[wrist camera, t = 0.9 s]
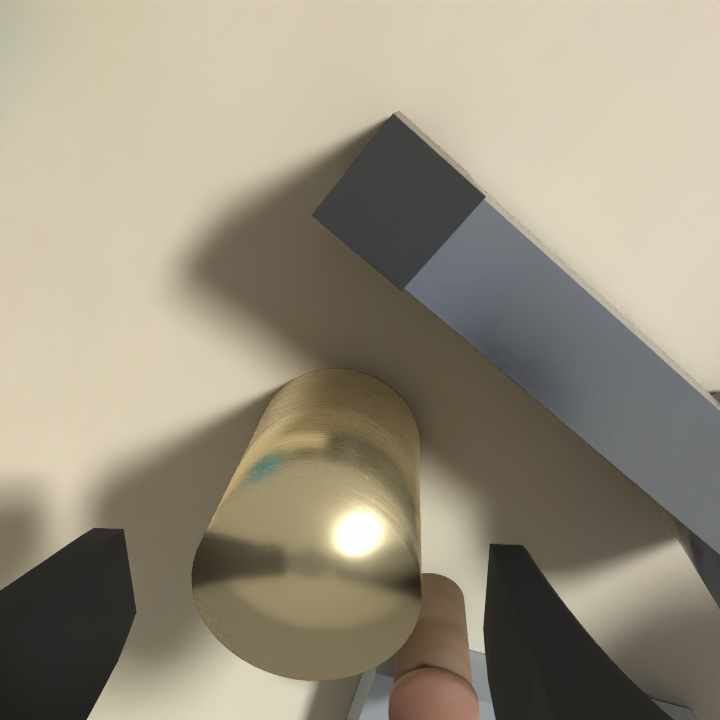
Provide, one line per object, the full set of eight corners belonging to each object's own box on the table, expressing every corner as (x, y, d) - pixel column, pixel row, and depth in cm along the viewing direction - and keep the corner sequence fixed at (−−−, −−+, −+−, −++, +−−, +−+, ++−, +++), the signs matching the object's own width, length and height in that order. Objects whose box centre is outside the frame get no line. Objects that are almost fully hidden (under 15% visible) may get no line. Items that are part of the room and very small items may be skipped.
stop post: (477, 582, 20) (492, 694, 16) (454, 638, 20) (463, 758, 17) (404, 562, 19) (402, 671, 16) (384, 619, 20) (377, 735, 17)
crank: (840, 456, 17) (984, 575, 13) (713, 552, 18) (805, 689, 14) (427, 75, 15) (433, 62, 10) (315, 216, 16) (277, 257, 12)
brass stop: (440, 393, 18) (451, 529, 12) (394, 528, 19) (386, 703, 14) (277, 349, 17) (213, 464, 12) (245, 488, 19) (175, 648, 13)
